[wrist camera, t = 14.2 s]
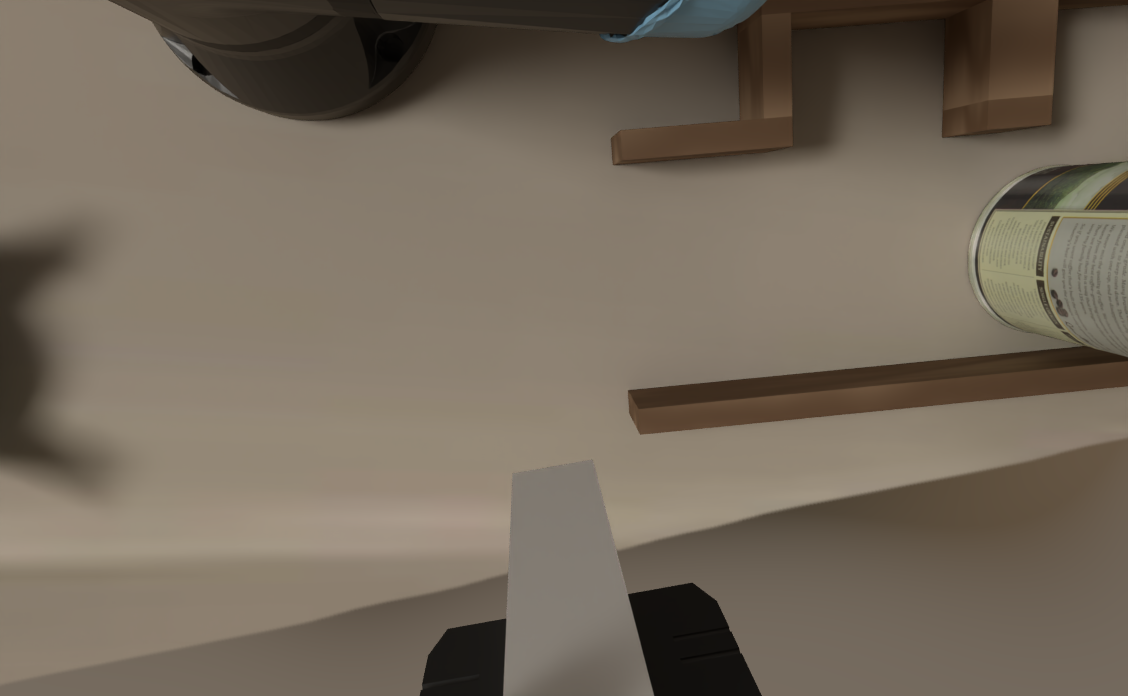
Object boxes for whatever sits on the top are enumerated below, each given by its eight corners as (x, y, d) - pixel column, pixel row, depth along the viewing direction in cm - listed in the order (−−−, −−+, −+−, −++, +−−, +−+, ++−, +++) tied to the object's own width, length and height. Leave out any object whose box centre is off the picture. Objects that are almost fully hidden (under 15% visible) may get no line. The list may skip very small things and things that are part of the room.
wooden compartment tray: (602, 15, 38) (614, -13, 33) (1226, -31, 39) (1326, -66, 34) (629, 413, 42) (643, 440, 38) (1185, 359, 44) (1268, 378, 39)
